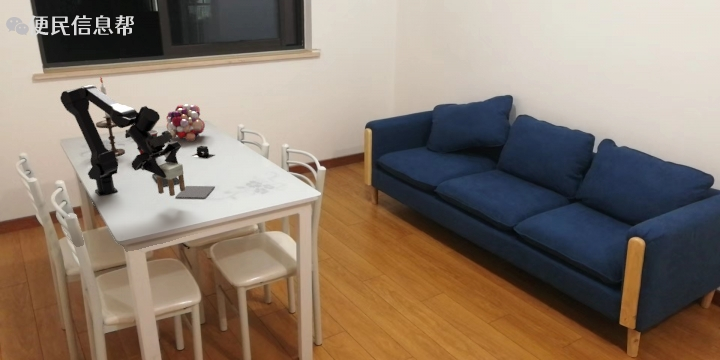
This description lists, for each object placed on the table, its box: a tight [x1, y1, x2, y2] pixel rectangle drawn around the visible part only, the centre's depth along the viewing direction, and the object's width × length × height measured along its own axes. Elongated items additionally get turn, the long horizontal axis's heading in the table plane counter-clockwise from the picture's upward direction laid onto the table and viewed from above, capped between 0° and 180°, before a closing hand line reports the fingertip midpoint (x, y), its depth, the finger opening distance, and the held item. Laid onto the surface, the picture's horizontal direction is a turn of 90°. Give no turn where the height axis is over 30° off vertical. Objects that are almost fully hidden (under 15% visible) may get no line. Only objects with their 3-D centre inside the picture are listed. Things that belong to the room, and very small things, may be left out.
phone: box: [151, 173, 179, 188], centre depth 222 cm, size 8×1×15 cm
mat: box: [175, 185, 216, 200], centre depth 208 cm, size 11×11×1 cm
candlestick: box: [95, 76, 126, 157], centre depth 249 cm, size 11×11×35 cm
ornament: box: [166, 103, 206, 143], centre depth 274 cm, size 18×19×20 cm
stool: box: [156, 161, 186, 197], centre depth 193 cm, size 6×6×10 cm
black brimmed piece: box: [191, 145, 216, 160], centre depth 250 cm, size 12×7×5 cm, turn 67°
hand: (172, 174), depth 192 cm, fingers closed on stool, 6 cm apart
